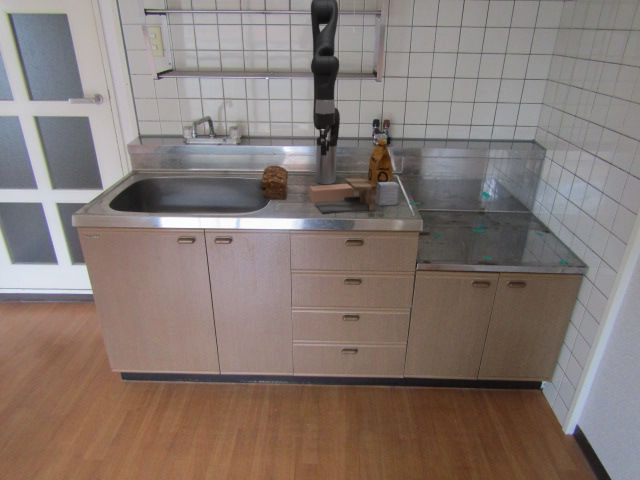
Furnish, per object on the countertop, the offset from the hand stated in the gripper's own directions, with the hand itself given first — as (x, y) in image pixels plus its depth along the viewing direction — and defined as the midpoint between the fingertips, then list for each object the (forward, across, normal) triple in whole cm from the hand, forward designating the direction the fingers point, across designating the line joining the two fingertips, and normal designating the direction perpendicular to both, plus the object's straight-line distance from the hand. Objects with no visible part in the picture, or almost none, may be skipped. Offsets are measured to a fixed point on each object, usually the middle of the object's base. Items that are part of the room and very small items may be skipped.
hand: (325, 153), depth 177 cm
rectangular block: (+19, +1, +3) cm, 19 cm away
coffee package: (+19, -14, +22) cm, 33 cm away
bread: (+18, -2, -22) cm, 28 cm away
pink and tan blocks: (+19, +10, +9) cm, 23 cm away
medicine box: (+20, +2, +26) cm, 32 cm away
